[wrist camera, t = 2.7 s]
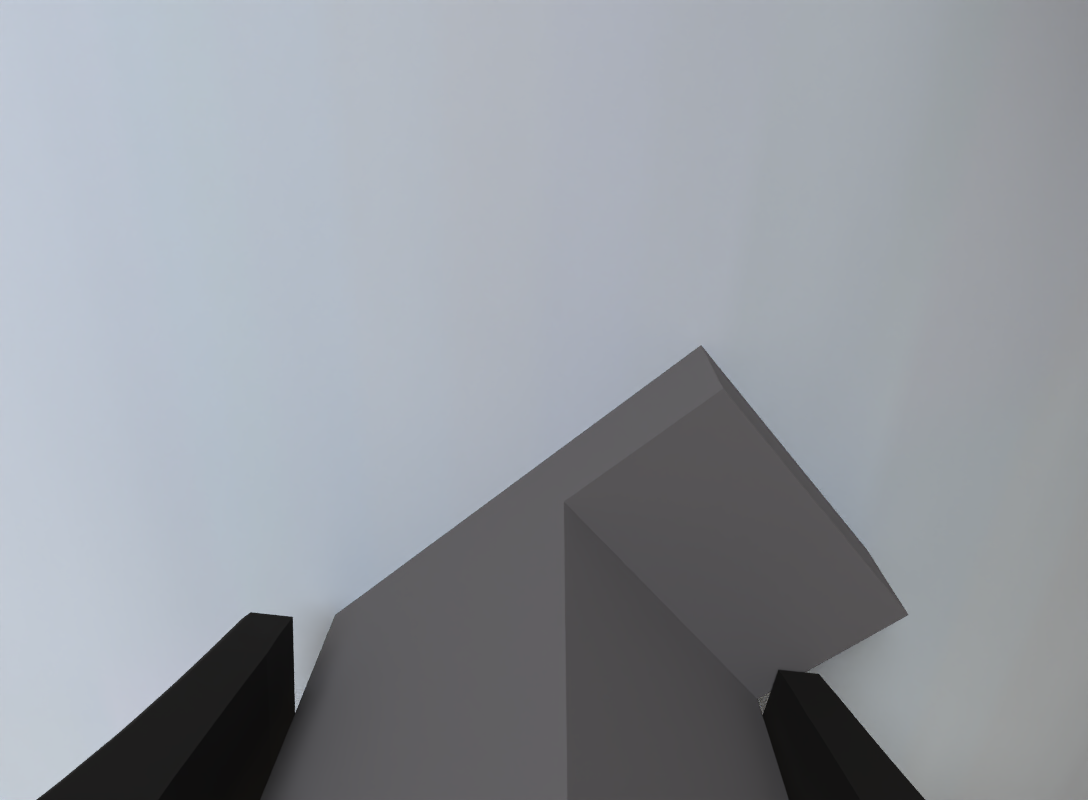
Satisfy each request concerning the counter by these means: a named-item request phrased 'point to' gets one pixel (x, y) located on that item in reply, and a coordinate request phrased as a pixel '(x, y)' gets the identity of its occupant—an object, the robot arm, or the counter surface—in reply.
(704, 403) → the stepped grey block
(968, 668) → the counter surface
